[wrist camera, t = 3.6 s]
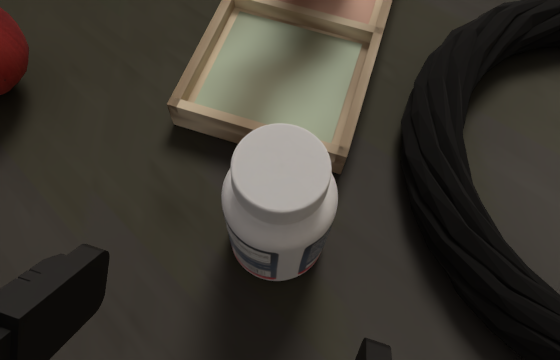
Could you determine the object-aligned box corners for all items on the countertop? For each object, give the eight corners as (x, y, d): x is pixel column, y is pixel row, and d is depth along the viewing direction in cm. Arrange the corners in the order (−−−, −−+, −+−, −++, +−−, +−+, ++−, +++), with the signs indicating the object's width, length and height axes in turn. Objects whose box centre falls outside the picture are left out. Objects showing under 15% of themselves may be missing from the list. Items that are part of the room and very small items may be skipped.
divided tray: (402, -37, 35) (410, -63, 33) (340, 174, 27) (346, 157, 25) (272, -70, 36) (272, -96, 34) (173, 124, 28) (167, 104, 26)
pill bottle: (310, 187, 26) (331, 99, 18) (332, 271, 24) (368, 213, 16) (223, 203, 26) (205, 119, 18) (238, 291, 24) (226, 241, 16)
